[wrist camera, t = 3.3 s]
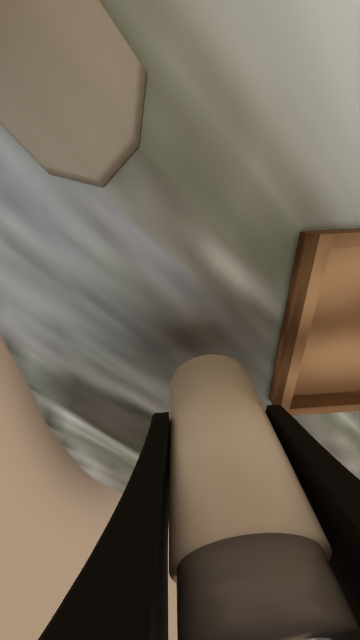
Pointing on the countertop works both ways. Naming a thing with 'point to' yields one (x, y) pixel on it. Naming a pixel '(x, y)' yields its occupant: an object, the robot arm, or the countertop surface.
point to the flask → (70, 86)
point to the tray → (321, 327)
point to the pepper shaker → (242, 520)
